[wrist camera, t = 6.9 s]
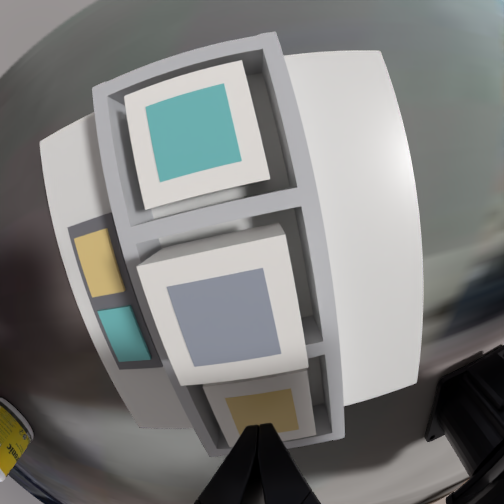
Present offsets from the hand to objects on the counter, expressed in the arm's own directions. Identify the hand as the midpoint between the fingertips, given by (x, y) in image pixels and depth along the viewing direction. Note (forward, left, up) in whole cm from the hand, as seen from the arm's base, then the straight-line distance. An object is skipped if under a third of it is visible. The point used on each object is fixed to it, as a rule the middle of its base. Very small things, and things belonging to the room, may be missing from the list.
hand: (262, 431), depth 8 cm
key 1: (+9, 0, -3) cm, 10 cm away
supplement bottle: (-6, +25, -5) cm, 26 cm away
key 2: (0, 0, -3) cm, 3 cm away
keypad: (+4, 0, -5) cm, 7 cm away
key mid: (+5, 0, -1) cm, 5 cm away
